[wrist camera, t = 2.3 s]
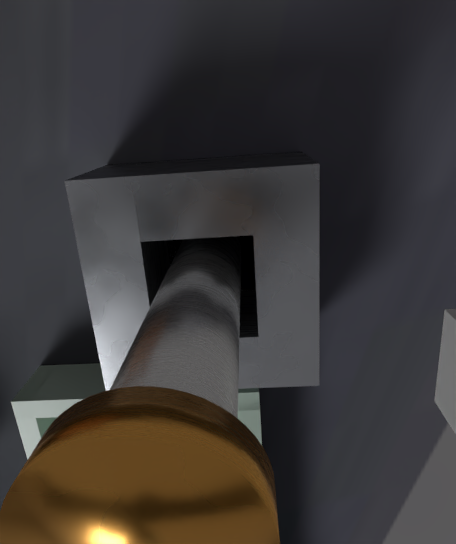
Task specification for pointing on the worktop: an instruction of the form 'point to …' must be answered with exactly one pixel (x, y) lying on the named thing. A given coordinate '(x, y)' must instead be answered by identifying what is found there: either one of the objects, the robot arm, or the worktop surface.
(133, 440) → the pin
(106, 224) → the socket block
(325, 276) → the worktop surface
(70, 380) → the tray
